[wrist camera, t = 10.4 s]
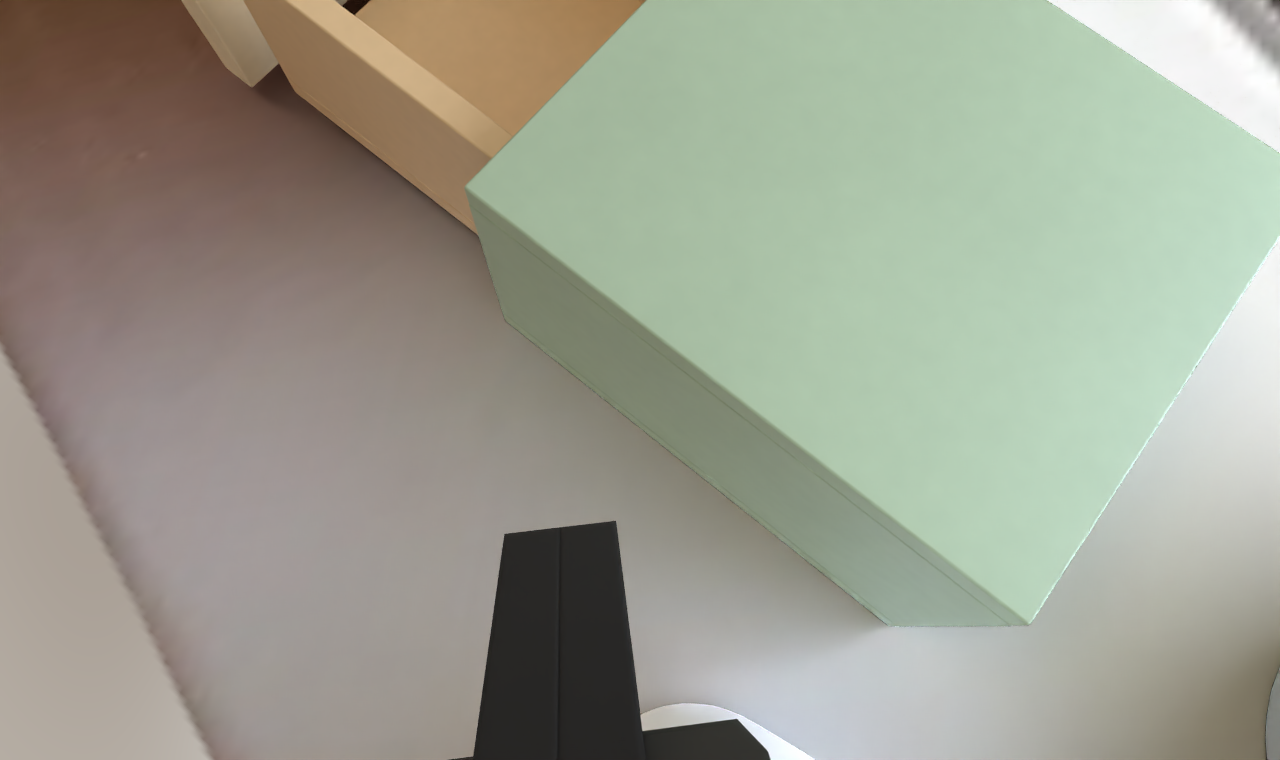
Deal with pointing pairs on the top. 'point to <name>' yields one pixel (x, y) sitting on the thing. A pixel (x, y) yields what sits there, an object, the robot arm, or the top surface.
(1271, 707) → the coffee mug
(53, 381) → the top surface
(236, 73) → the drawer
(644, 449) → the top surface
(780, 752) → the can
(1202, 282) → the cabinet
